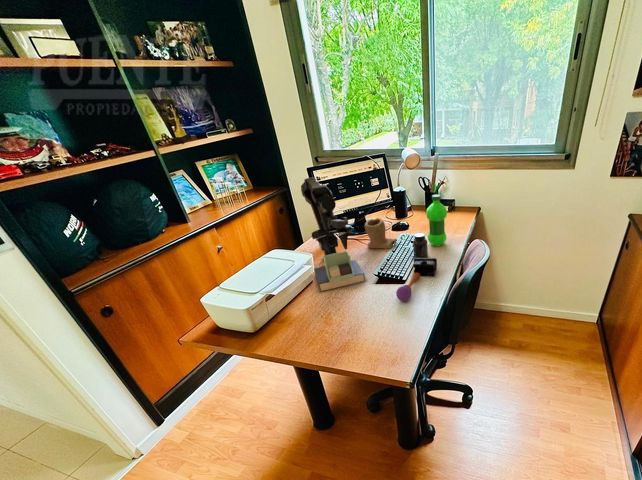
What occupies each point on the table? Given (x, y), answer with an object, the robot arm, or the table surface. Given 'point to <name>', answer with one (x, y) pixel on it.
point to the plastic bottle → (436, 221)
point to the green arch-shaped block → (338, 260)
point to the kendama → (407, 288)
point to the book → (326, 285)
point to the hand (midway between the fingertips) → (338, 251)
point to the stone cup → (378, 234)
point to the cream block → (334, 271)
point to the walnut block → (344, 269)
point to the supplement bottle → (420, 246)
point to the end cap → (425, 266)
